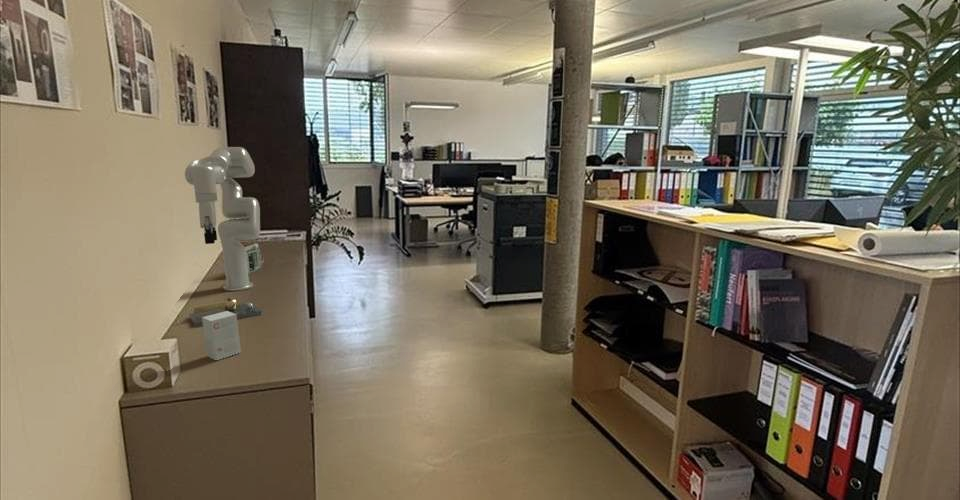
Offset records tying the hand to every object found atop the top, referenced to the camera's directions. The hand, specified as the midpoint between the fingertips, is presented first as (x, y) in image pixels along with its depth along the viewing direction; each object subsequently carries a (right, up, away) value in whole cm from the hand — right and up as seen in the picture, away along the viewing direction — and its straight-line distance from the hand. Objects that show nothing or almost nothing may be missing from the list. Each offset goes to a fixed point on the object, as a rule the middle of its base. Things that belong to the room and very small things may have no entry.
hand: (211, 241), depth 207 cm
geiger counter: (-15, -15, +70) cm, 73 cm away
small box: (+25, -36, -40) cm, 60 cm away
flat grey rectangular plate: (+7, -29, -2) cm, 30 cm away
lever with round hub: (+3, -27, -3) cm, 27 cm away
